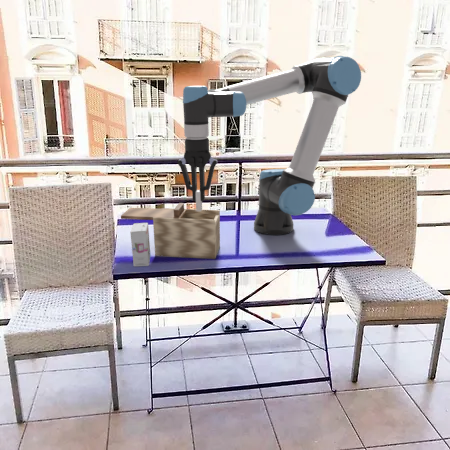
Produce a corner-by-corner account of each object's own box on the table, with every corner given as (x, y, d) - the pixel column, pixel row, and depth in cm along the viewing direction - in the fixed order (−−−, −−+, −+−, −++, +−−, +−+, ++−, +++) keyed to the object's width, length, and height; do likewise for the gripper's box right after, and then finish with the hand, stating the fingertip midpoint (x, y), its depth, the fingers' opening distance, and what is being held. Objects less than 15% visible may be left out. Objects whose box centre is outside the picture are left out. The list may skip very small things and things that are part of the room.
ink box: (135, 256, 151) (133, 222, 148) (150, 255, 152) (148, 221, 148) (132, 266, 143) (130, 231, 140) (148, 266, 144) (146, 230, 140)
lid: (186, 212, 156) (185, 202, 155) (179, 221, 147) (179, 210, 146) (130, 210, 159) (129, 200, 158) (121, 218, 150) (120, 208, 149)
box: (219, 246, 160) (219, 210, 155) (215, 258, 149) (214, 220, 145) (163, 244, 162) (161, 208, 158) (155, 255, 152) (153, 217, 147)
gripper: (219, 136, 146) (220, 207, 153) (178, 135, 148) (182, 206, 155) (215, 139, 139) (217, 214, 146) (173, 139, 140) (177, 213, 148)
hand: (199, 210), depth 151 cm, fingers closed
